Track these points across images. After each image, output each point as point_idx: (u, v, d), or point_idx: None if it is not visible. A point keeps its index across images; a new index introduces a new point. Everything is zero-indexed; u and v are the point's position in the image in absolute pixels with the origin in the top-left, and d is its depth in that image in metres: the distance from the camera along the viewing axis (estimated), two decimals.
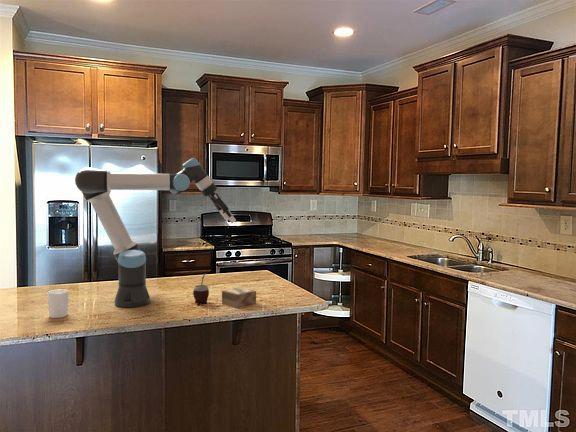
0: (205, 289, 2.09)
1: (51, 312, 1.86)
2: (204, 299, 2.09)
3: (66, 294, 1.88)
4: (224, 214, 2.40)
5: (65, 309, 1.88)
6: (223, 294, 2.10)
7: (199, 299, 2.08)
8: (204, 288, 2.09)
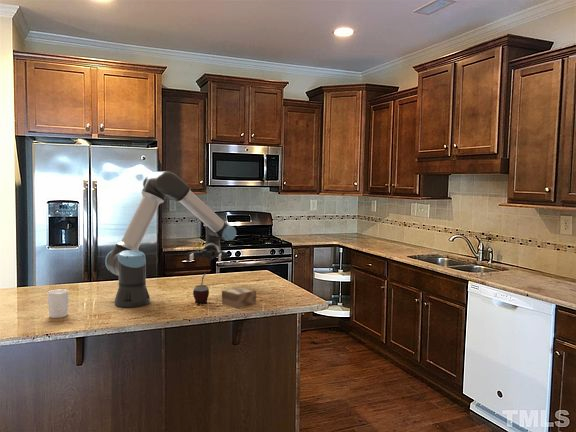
0: (205, 289, 2.09)
1: (51, 312, 1.86)
2: (204, 299, 2.09)
3: (66, 294, 1.88)
4: (192, 256, 2.23)
5: (65, 309, 1.88)
6: (223, 294, 2.10)
7: (199, 299, 2.08)
8: (204, 288, 2.09)
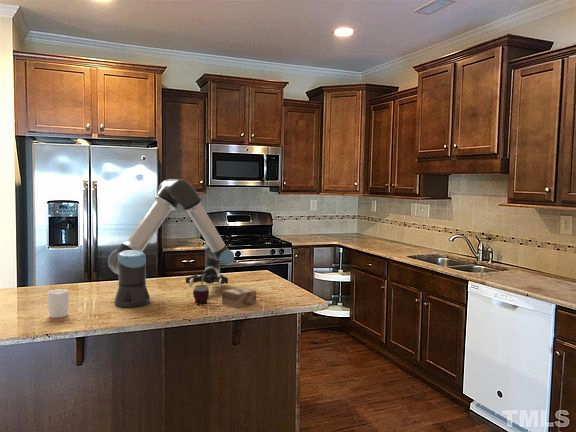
0: (205, 289, 2.09)
1: (51, 312, 1.86)
2: (204, 299, 2.09)
3: (66, 294, 1.88)
4: (192, 282, 2.19)
5: (65, 309, 1.88)
6: (223, 294, 2.10)
7: (199, 299, 2.08)
8: (204, 288, 2.09)
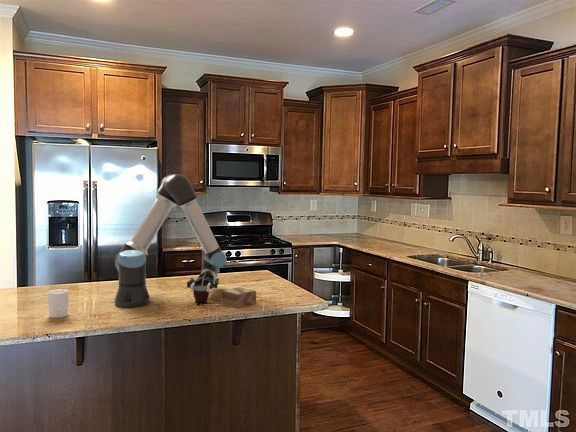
0: (205, 289, 2.09)
1: (51, 312, 1.86)
2: (204, 299, 2.09)
3: (66, 294, 1.88)
4: (193, 286, 2.09)
5: (65, 309, 1.88)
6: (223, 294, 2.10)
7: (199, 299, 2.08)
8: (204, 288, 2.09)
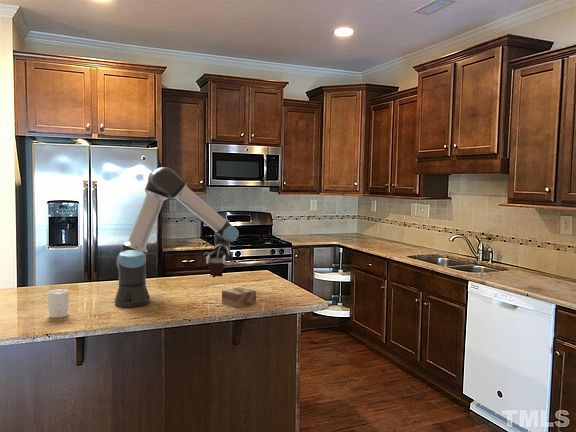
0: (221, 261, 2.09)
1: (51, 312, 1.86)
2: (220, 271, 2.09)
3: (66, 294, 1.88)
4: None
5: (65, 309, 1.88)
6: (223, 294, 2.10)
7: (215, 271, 2.08)
8: (220, 260, 2.09)
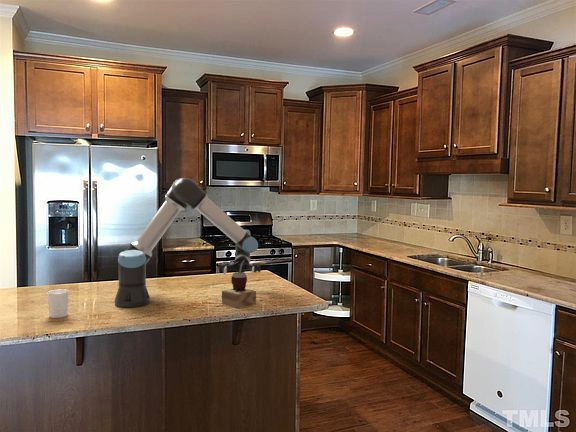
0: (243, 276, 2.09)
1: (51, 312, 1.86)
2: (242, 286, 2.10)
3: (66, 294, 1.88)
4: (226, 270, 2.10)
5: (65, 309, 1.88)
6: (223, 294, 2.10)
7: (238, 286, 2.09)
8: (243, 275, 2.09)
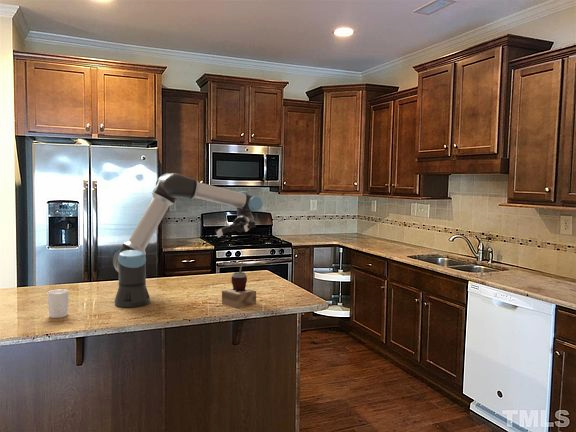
0: (243, 276, 2.09)
1: (51, 312, 1.86)
2: (242, 286, 2.10)
3: (66, 294, 1.88)
4: (220, 232, 2.22)
5: (65, 309, 1.88)
6: (223, 294, 2.10)
7: (238, 286, 2.09)
8: (242, 275, 2.09)
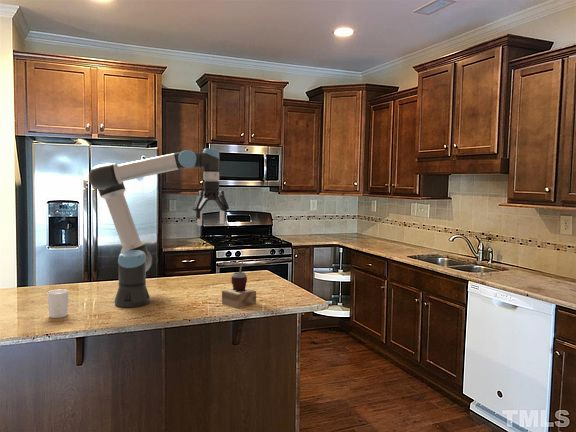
0: (244, 276, 2.09)
1: (51, 312, 1.86)
2: (242, 286, 2.10)
3: (66, 294, 1.88)
4: (221, 216, 2.29)
5: (65, 309, 1.88)
6: (223, 294, 2.10)
7: (238, 286, 2.09)
8: (243, 275, 2.09)
